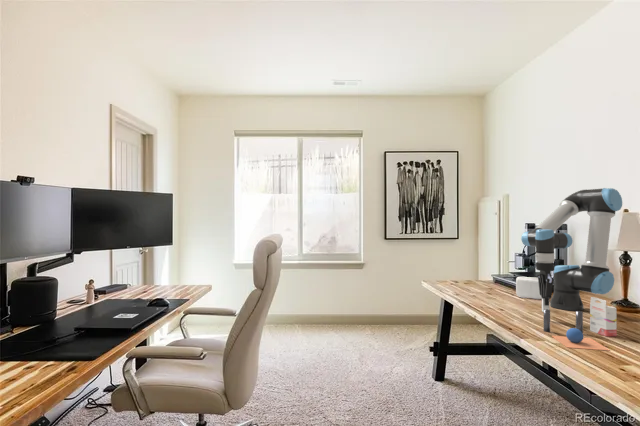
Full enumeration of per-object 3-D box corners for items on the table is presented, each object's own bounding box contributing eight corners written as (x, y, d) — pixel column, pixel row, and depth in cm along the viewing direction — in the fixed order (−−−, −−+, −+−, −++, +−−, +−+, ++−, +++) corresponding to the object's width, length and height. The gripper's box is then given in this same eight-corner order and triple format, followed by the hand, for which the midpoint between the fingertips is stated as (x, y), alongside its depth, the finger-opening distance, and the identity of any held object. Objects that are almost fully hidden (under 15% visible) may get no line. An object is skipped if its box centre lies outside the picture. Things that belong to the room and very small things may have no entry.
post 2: (581, 332, 157) (581, 311, 157) (583, 334, 154) (583, 312, 154) (574, 332, 157) (574, 310, 157) (577, 333, 155) (577, 312, 155)
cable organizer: (543, 297, 229) (543, 278, 229) (544, 300, 220) (544, 280, 220) (516, 294, 236) (516, 276, 236) (515, 297, 227) (515, 278, 227)
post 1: (548, 330, 159) (548, 309, 159) (551, 332, 157) (551, 310, 157) (542, 330, 159) (542, 309, 160) (544, 331, 157) (544, 310, 157)
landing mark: (590, 338, 149) (590, 338, 149) (610, 350, 135) (610, 350, 135) (551, 336, 151) (551, 335, 151) (567, 347, 138) (567, 347, 138)
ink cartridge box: (617, 336, 152) (617, 300, 152) (606, 336, 151) (606, 300, 151) (600, 330, 160) (600, 296, 160) (589, 330, 160) (589, 296, 160)
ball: (578, 337, 146) (580, 325, 145) (585, 346, 141) (587, 333, 140) (562, 337, 147) (564, 324, 146) (569, 345, 142) (570, 332, 141)
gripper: (531, 260, 183) (532, 308, 183) (541, 263, 170) (542, 315, 170) (548, 260, 182) (548, 308, 181) (559, 263, 169) (560, 315, 169)
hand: (545, 311), depth 176 cm, fingers closed
